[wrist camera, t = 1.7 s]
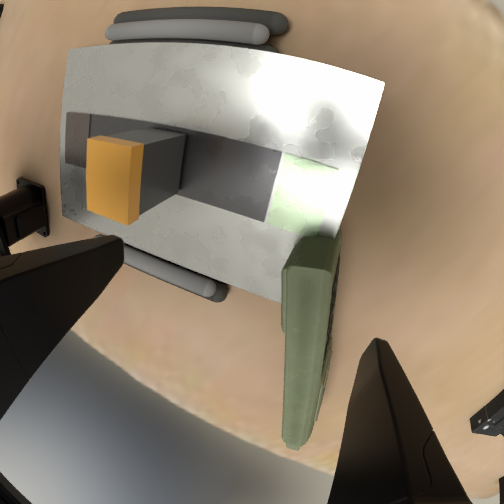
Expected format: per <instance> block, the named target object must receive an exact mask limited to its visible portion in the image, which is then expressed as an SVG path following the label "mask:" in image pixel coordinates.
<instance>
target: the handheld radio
mask: <svg viewBox="0 0 504 504" xmlns="http://www.w3.org/2000/svg"><path fill="white" fill-rule="evenodd" d="M340 248H341V230H340V228H339V229H338V231H337V234H336V237H335V239H334V238H333V237H329V236H317V237H303V238H301V239H300V241H299V243H297V244H296V245H295V246H294V248H293V249H292V251H291V253H290V255H289V257H288V259H287V261H286V263H285V265H284V267H283V269H282V270H281V325H282V330H283V332H284V333H285V366H284V396H283V420H282V440H283V441H284V442H285V443H286V446H287V448H289V449H293V450H297V451H298V450H299V448H300V447H301V446H303V445H304V444H306V442H307V441H308V439H309V437H310V435H311V433H312V429H313V426H314V422H315V421H316V420H317V417H318V413H319V410H320V406H321V402H322V398H323V394H324V390H325V385H326V380H327V375H328V369H329V364H330V358H331V353H332V351H331V350H330V346H331V340H332V337H331V333H332V325H333V317H334V309H335V301H336V292H337V282H338V274H339V262H340Z"/></svg>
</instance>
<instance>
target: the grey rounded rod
mask: <svg viewBox="0 0 504 504" xmlns="http://www.w3.org/2000/svg"><path fill="white" fill-rule="evenodd" d="M102 236H103V235H96V236H95V237H94V238H97V237H102ZM124 264H126V265H129V266H131V267H133V268H135V269H137V270H140V271H142V272H144V273H146V274H149V275H151V276H153V277H156V278H158V279H160V280H163V281H165V282H167V283H170V284H172V285H174V286H177V287H179V288H181V289H184V290H186V291H189V292H191V293H194V294H196V295H198V296H201V297H203V298H206V299H208V300H211V301H213V302H222V301H223V300H225V298H226V297H227V289H226V287H225V286H224V285H223V284H221V283H218V282H216V281H213V280H211V279H208V278H206V277H203V276H201V275H198V274H196V273H193V272H191V271H188V270H185V269H183V268H180V267H178V266H175V265H173V264H170V263H168V262H165V261H163V260H161V259H158V258H156V257H153V256H151V255H148V254H146V253H143V252H141V251H139V250H136V249H134V248H131V247H129V246H127V245H124Z"/></svg>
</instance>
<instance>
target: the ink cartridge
mask: <svg viewBox="0 0 504 504" xmlns="http://www.w3.org/2000/svg"><path fill="white" fill-rule="evenodd" d="M499 487H500V504H504V477H502V478H500V479H499Z"/></svg>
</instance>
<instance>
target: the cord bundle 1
mask: <svg viewBox="0 0 504 504" xmlns="http://www.w3.org/2000/svg"><path fill="white" fill-rule="evenodd" d="M287 28H288V19H287V18H286V17H285V16H284V15H283V14H281V13H278V12H272V11H264V10H254V9H243V8H228V7H172V8H156V9H145V10H136V11H128V12H122V13H120V14H118V15H117V16H116V17H115V19H114V24H112V25H110V26H109V27H108V28H107V29H106V31H105V36H106V38H107V39H108V40H111V41H112V42H111V43H110V44H124V43H148V42H172V43H197V44H212V45H223V46H232V47H240V48H248V49H255V50H261V51H267V52H273V53H278V54H280V53H279V51H278V50H277V49H276V48H275V47H273V46H270V45H264V44H263V43H265V42H266V41H267V40H268V39H269V34H272V35H279V34H282V33H284V32H285V31H286V30H287ZM110 44H109V45H110Z"/></svg>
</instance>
